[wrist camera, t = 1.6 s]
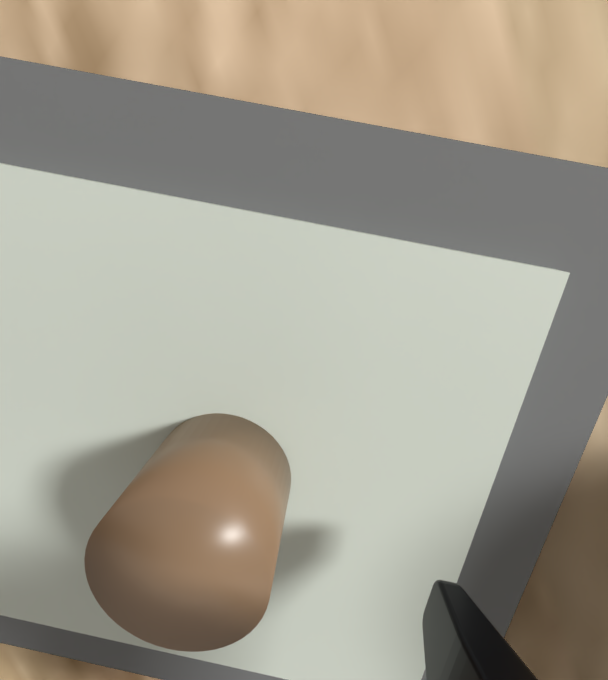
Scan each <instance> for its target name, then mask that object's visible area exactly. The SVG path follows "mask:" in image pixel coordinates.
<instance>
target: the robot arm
mask: <svg viewBox="0 0 608 680" xmlns="http://www.w3.org/2000/svg"><path fill="white" fill-rule="evenodd" d="M422 628H423V641H424V655H425V668H426V680H538V679H537V678H536V677H535V676H534V675H533V673H532V672H531V671H530V670H529V668H528V667H527V666H526V665H525V664H524V662H523V661H522V660H521V659H520V657H519V656H518V655H517V654H516V653H515V651H514V650H513V649H512V648H511V646H510V645H509V644H508V643H507V642H506V640H505V639H504V638H503V637H502V635H501V634H500V633H499V632H498V631H497V629H496V628H495V627H494V626H493V624H492V623H491V622H490V621H489V620H488V618H487V617H486V616H485V615H484V613H483V612H482V611H481V610H480V609H479V607H478V606H477V605H476V604H475V602H474V601H473V600H472V599H471V598H470V596H469V595H468V594H467V593H466V591H465V590H464V589H463V588H462V587H461V586H460V585H459V584H457V583H454V582H449V581H445V580H436V581H435V582H434V584H433V587H432V589H431V592H430V595H429V598H428V601H427V604H426V607H425V610H424V613H423V621H422Z"/></svg>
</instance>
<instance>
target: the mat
mask: <svg viewBox="0 0 608 680" xmlns="http://www.w3.org/2000/svg"><path fill="white" fill-rule="evenodd" d="M0 163H4V164H9V165H14V166H19V167H25V168H30V169H35V170H40V171H46V172H51V173H56V174H61V175H66V176H72V177H77V178H82V179H87V180H93V181H98V182H103V183H108V184H113V185H119V186H124V187H129V188H134V189H140V190H145V191H150V192H155V193H160V194H166V195H171V196H176V197H181V198H187V199H192V200H197V201H202V202H207V203H213V204H218V205H223V206H228V207H234V208H239V209H244V210H249V211H254V212H260V213H265V214H270V215H275V216H281V217H286V218H291V219H296V220H301V221H307V222H312V223H317V224H322V225H328V226H333V227H338V228H343V229H348V230H354V231H359V232H364V233H369V234H375V235H380V236H385V237H390V238H395V239H401V240H406V241H411V242H416V243H422V244H427V245H432V246H437V247H442V248H448V249H453V250H458V251H463V252H469V253H474V254H479V255H484V256H489V257H495V258H500V259H505V260H510V261H516V262H521V263H526V264H531V265H536V266H542V267H547V268H552V269H557V270H561V271H565V272H569V273H570V275H569V277H568V280H567V283H566V286H565V288H564V291H563V294H562V296H561V299H560V302H559V305H558V307H557V310H556V313H555V316H554V318H553V321H552V324H551V327H550V329H549V332H548V335H547V337H546V340H545V343H544V346H543V348H542V351H541V354H540V357H539V359H538V362H537V365H536V368H535V370H534V373H533V376H532V378H531V381H530V384H529V387H528V389H527V392H526V395H525V398H524V400H523V403H522V406H521V408H520V411H519V414H518V417H517V419H516V422H515V425H514V428H513V430H512V433H511V436H510V439H509V441H508V444H507V447H506V449H505V452H504V455H503V458H502V460H501V463H500V466H499V469H498V471H497V474H496V477H495V480H494V482H493V485H492V488H491V490H490V493H489V496H488V499H487V501H486V504H485V507H484V510H483V512H482V515H481V518H480V521H479V523H478V526H477V529H476V531H475V534H474V537H473V540H472V542H471V545H470V548H469V551H468V553H467V556H466V559H465V562H464V564H463V567H462V570H461V572H460V575H459V578H458V581H457V584H459V585H460V586H461V587H462V588H463V589H464V590H465V591H466V593H467V594H468V595H469V596H470V598H471V599H472V600H473V601H474V602H475V604H476V605H477V606H478V607H479V609H480V610H481V611H482V612H483V613H484V615H485V616H486V617H487V618H488V620H489V621H490V622H491V623H492V624H493V626H494V627H495V628H496V629H497V631H498V632H499V633H500V634H501V635H502V637H503V638H504V636H505V634H506V632H507V629H508V627H509V625H510V622H511V620H512V618H513V615H514V613H515V611H516V608H517V606H518V604H519V601H520V599H521V596H522V594H523V592H524V589H525V587H526V585H527V582H528V580H529V578H530V575H531V573H532V571H533V568H534V566H535V564H536V561H537V559H538V557H539V554H540V552H541V550H542V547H543V545H544V543H545V540H546V538H547V536H548V533H549V531H550V529H551V526H552V524H553V522H554V519H555V517H556V515H557V512H558V510H559V508H560V505H561V503H562V501H563V498H564V496H565V494H566V491H567V489H568V487H569V484H570V482H571V480H572V477H573V475H574V473H575V470H576V468H577V466H578V463H579V461H580V459H581V456H582V454H583V452H584V449H585V447H586V445H587V442H588V440H589V438H590V435H591V433H592V431H593V428H594V426H595V424H596V421H597V419H598V417H599V414H600V412H601V410H602V407H603V405H604V403H605V400H606V398H607V396H608V168H605V167H599V166H594V165H589V164H583V163H578V162H572V161H567V160H561V159H556V158H550V157H545V156H540V155H534V154H529V153H523V152H518V151H512V150H507V149H501V148H496V147H491V146H485V145H480V144H474V143H469V142H463V141H458V140H452V139H447V138H442V137H436V136H431V135H425V134H420V133H414V132H409V131H403V130H398V129H392V128H387V127H382V126H376V125H371V124H365V123H360V122H354V121H349V120H343V119H338V118H333V117H327V116H322V115H316V114H311V113H305V112H300V111H294V110H289V109H284V108H278V107H273V106H267V105H262V104H256V103H251V102H245V101H240V100H235V99H229V98H224V97H218V96H213V95H207V94H202V93H196V92H191V91H186V90H180V89H175V88H169V87H164V86H158V85H153V84H147V83H142V82H137V81H131V80H126V79H120V78H115V77H109V76H104V75H98V74H93V73H87V72H82V71H77V70H71V69H66V68H60V67H55V66H49V65H44V64H38V63H33V62H28V61H22V60H17V59H11V58H6V57H0ZM0 643H4V644H8V645H13V646H17V647H22V648H26V649H30V650H35V651H39V652H44V653H48V654H52V655H57V656H61V657H66V658H70V659H74V660H79V661H83V662H88V663H92V664H96V665H101V666H105V667H110V668H114V669H118V670H123V671H127V672H132V673H136V674H140V675H145V676H149V677H154V678H158V679H163V680H287V679H282V678H278V677H273V676H269V675H264V674H260V673H256V672H251V671H247V670H242V669H238V668H233V667H229V666H224V665H220V664H216V663H211V662H207V661H202V660H198V659H193V658H189V657H184V656H180V655H176V654H171V653H167V652H162V651H158V650H153V649H149V648H144V647H140V646H135V645H131V644H127V643H122V642H118V641H113V640H109V639H104V638H100V637H95V636H91V635H87V634H82V633H78V632H73V631H69V630H64V629H60V628H55V627H51V626H47V625H42V624H38V623H33V622H29V621H24V620H20V619H15V618H11V617H7V616H2V615H0ZM421 680H426V668H425V671H424V674H423V676H422V679H421Z"/></svg>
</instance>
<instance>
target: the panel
mask: <svg viewBox="0 0 608 680" xmlns="http://www.w3.org/2000/svg"><path fill="white" fill-rule="evenodd" d="M569 275H570V273H569V272H565V271H561V270H557V269H552V268H547V267H542V266H536V265H531V264H526V263H521V262H516V261H510V260H505V259H500V258H495V257H489V256H484V255H479V254H474V253H469V252H463V251H458V250H453V249H448V248H442V247H437V246H432V245H427V244H422V243H416V242H411V241H406V240H401V239H395V238H390V237H385V236H380V235H375V234H369V233H364V232H359V231H354V230H348V229H343V228H338V227H333V226H328V225H322V224H317V223H312V222H307V221H301V220H296V219H291V218H286V217H281V216H275V215H270V214H265V213H260V212H254V211H249V210H244V209H239V208H234V207H228V206H223V205H218V204H213V203H207V202H202V201H197V200H192V199H187V198H181V197H176V196H171V195H166V194H160V193H155V192H150V191H145V190H140V189H134V188H129V187H124V186H119V185H113V184H108V183H103V182H98V181H93V180H87V179H82V178H77V177H72V176H66V175H61V174H56V173H51V172H46V171H40V170H35V169H30V168H25V167H19V166H14V165H9V164H4V163H0V615H2V616H7V617H11V618H15V619H20V620H24V621H29V622H33V623H38V624H42V625H47V626H51V627H55V628H60V629H64V630H69V631H73V632H78V633H82V634H87V635H91V636H95V637H100V638H104V639H109V640H113V641H118V642H122V643H127V644H131V645H135V646H140V647H144V648H149V649H153V650H158V651H162V652H167V653H171V654H176V655H180V656H184V657H189V658H193V659H198V660H202V661H207V662H211V663H216V664H220V665H224V666H229V667H233V668H238V669H242V670H247V671H251V672H256V673H260V674H264V675H269V676H273V677H278V678H282V679H287V680H421V679H422V676H423V674H424V671H425V655H424V641H423V628H422V621H423V613H424V610H425V607H426V604H427V601H428V598H429V595H430V592H431V589H432V587H433V584H434V582H435V581H436V580H445V581H449V582H454V583H457V581H458V578H459V575H460V572H461V570H462V567H463V564H464V562H465V559H466V556H467V553H468V551H469V548H470V545H471V542H472V540H473V537H474V534H475V531H476V529H477V526H478V523H479V521H480V518H481V515H482V512H483V510H484V507H485V504H486V501H487V499H488V496H489V493H490V490H491V488H492V485H493V482H494V480H495V477H496V474H497V471H498V469H499V466H500V463H501V460H502V458H503V455H504V452H505V449H506V447H507V444H508V441H509V439H510V436H511V433H512V430H513V428H514V425H515V422H516V419H517V417H518V414H519V411H520V408H521V406H522V403H523V400H524V398H525V395H526V392H527V389H528V387H529V384H530V381H531V378H532V376H533V373H534V370H535V368H536V365H537V362H538V359H539V357H540V354H541V351H542V348H543V346H544V343H545V340H546V337H547V335H548V332H549V329H550V327H551V324H552V321H553V318H554V316H555V313H556V310H557V307H558V305H559V302H560V299H561V296H562V294H563V291H564V288H565V286H566V283H567V280H568V277H569Z"/></svg>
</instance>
